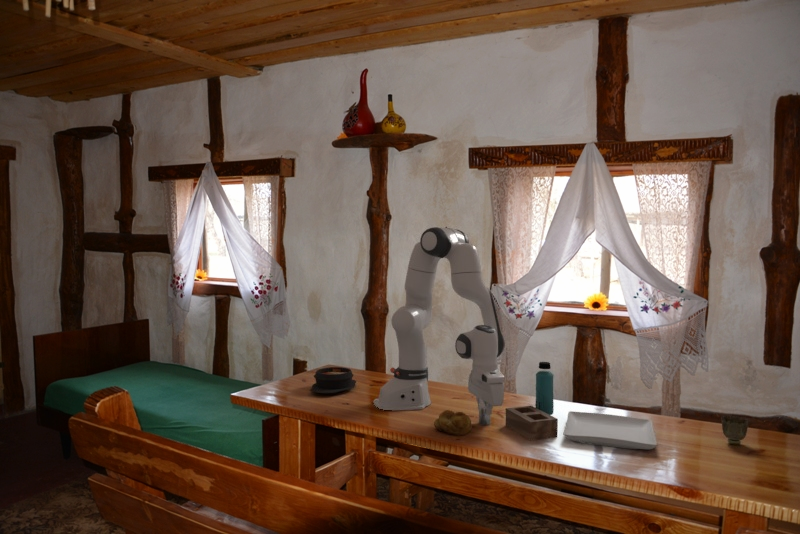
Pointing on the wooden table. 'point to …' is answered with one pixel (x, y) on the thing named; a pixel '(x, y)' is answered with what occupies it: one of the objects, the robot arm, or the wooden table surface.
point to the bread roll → (453, 423)
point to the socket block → (531, 422)
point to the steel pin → (483, 413)
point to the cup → (734, 429)
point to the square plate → (610, 430)
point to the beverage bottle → (544, 389)
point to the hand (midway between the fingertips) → (484, 412)
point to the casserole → (333, 380)
